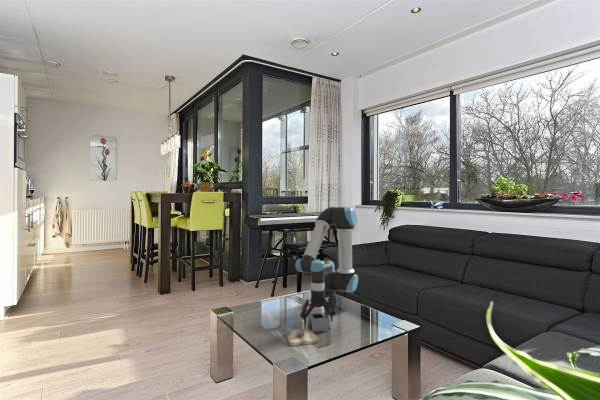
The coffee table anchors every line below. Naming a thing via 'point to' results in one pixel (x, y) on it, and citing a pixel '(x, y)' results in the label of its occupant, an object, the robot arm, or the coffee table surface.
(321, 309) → the cup
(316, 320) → the collar
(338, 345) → the coffee table surface
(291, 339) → the shaft block
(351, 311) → the coffee table surface
